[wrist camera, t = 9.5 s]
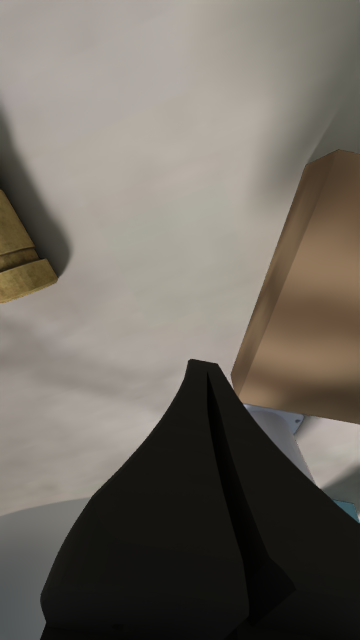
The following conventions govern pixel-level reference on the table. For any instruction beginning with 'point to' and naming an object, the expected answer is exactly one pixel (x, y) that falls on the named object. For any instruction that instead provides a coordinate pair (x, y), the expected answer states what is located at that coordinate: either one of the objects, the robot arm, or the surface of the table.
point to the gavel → (19, 258)
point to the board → (310, 302)
